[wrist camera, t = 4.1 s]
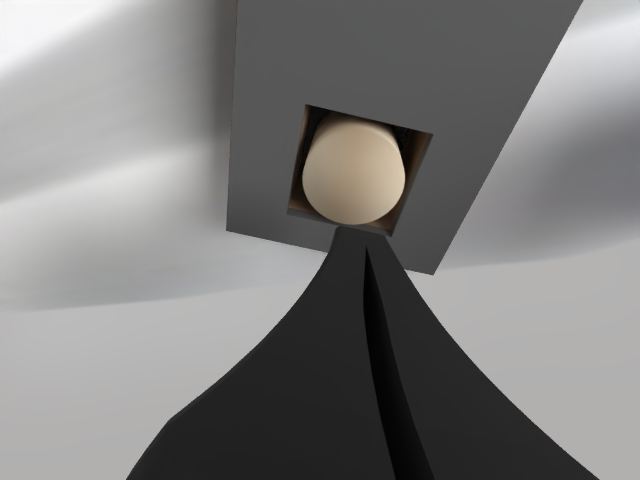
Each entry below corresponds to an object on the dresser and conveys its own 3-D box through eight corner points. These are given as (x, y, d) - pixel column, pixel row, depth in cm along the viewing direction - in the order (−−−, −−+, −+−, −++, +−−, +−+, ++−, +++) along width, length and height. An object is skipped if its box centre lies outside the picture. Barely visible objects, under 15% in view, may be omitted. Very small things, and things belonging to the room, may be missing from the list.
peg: (408, 116, 15) (420, 145, 13) (381, 193, 18) (386, 233, 15) (321, 95, 15) (312, 120, 12) (305, 176, 18) (295, 213, 15)
